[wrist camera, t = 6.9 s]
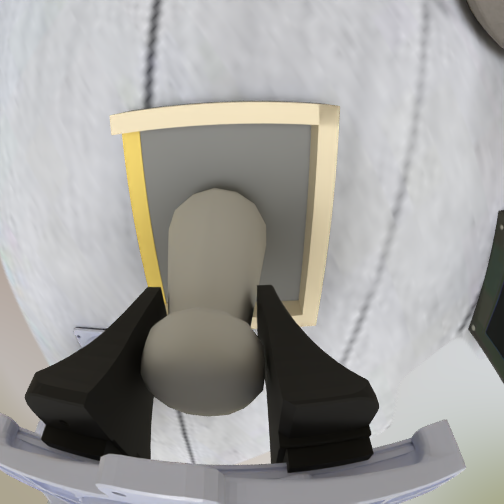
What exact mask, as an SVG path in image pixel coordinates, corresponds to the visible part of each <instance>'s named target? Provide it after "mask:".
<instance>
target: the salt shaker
mask: <svg viewBox="0 0 504 504" xmlns="http://www.w3.org/2000/svg"><path fill="white" fill-rule="evenodd" d="M265 249H266V224H265V222H264V220H263V218H262V217H261V215H260V213H259V211H258V209H257V207H256V205H255V204H254V203H253V202H251V201H250V200H248V199H247V198H245V197H244V196H242V195H241V194H239V193H237V192H234V191H229V190H223V189H218V188H212V189H209V190H205V191H202V192H199V193H196V194H193V195H192V196H191V197H190V198H188V199H187V200H186V201H185V202H184V203H183V204H181V205H180V206H179V207H178V208H177V209H176V210H175V212H174V215H173V218H172V221H171V224H170V227H169V238H168V315H167V316H166V317H165V318H163V319H162V320H160V321H159V322H158V323H156V324H155V325H154V326H153V327H152V328H151V329H150V332H149V335H148V337H147V340H146V342H145V346H144V350H143V354H142V358H141V376H142V378H143V380H144V382H145V384H146V386H147V388H148V390H149V391H150V392H151V393H152V394H153V395H154V397H156V398H157V399H158V400H160V401H161V402H163V403H164V404H165V405H167V406H168V407H170V408H173V409H175V410H178V411H181V412H184V413H186V414H192V415H200V416H219V415H229V414H231V413H234V412H236V411H239V410H241V409H244V408H245V407H246V406H248V405H249V404H250V403H251V402H252V401H253V400H254V399H255V398H256V397H257V396H258V395H259V394H260V393H261V392H262V391H263V386H264V379H265V356H264V350H263V345H262V343H261V341H260V339H259V338H258V336H257V335H256V334H255V332H254V331H253V330H252V328H251V323H252V317H253V312H254V307H255V302H256V297H257V285H259V281H260V276H261V270H262V265H263V260H264V254H265Z"/></svg>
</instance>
